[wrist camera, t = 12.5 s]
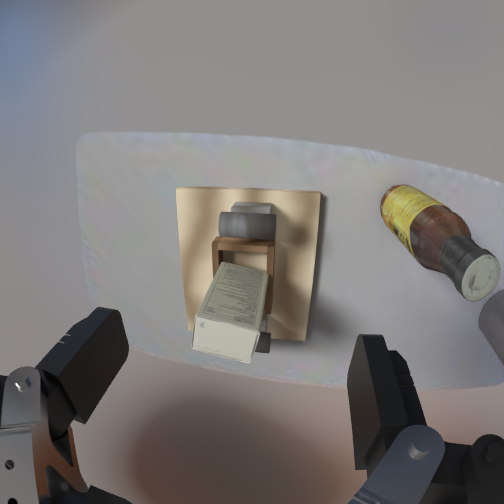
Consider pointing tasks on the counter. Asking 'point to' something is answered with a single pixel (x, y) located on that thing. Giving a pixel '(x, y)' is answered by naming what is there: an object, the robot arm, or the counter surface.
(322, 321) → the counter surface
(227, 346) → the skincare box
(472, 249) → the sauce bottle
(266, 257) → the board
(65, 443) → the robot arm
